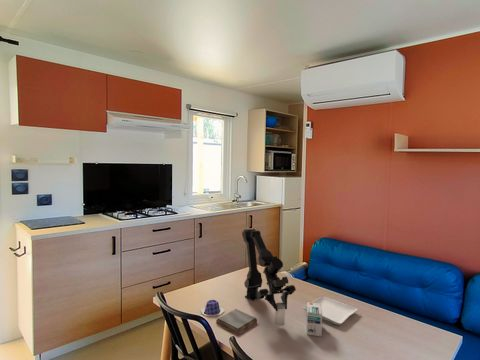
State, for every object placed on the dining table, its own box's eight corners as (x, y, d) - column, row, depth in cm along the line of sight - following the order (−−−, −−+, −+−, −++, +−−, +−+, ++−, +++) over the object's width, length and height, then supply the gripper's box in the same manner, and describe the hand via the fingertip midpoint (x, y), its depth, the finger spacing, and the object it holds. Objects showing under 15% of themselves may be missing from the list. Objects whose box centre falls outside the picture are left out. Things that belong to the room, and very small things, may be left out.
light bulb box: (321, 337, 139) (322, 314, 138) (306, 335, 141) (307, 312, 140) (320, 324, 150) (321, 303, 149) (306, 322, 151) (307, 301, 150)
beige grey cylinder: (278, 319, 149) (279, 301, 148) (286, 323, 146) (287, 304, 145) (273, 323, 146) (273, 304, 145) (281, 326, 143) (281, 308, 142)
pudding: (216, 304, 169) (216, 294, 168) (228, 313, 159) (228, 303, 159) (196, 310, 162) (196, 300, 161) (208, 320, 152) (208, 309, 152)
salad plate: (358, 314, 161) (358, 308, 161) (340, 330, 146) (340, 323, 146) (321, 300, 176) (322, 295, 176) (301, 313, 160) (302, 307, 160)
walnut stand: (235, 312, 159) (235, 308, 159) (256, 322, 150) (257, 317, 150) (216, 323, 148) (216, 318, 148) (237, 334, 139) (237, 329, 139)
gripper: (259, 273, 144) (269, 306, 135) (294, 269, 151) (306, 300, 141) (252, 282, 152) (261, 315, 143) (286, 278, 159) (296, 309, 149)
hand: (281, 309), depth 144 cm, fingers closed on beige grey cylinder, 4 cm apart
